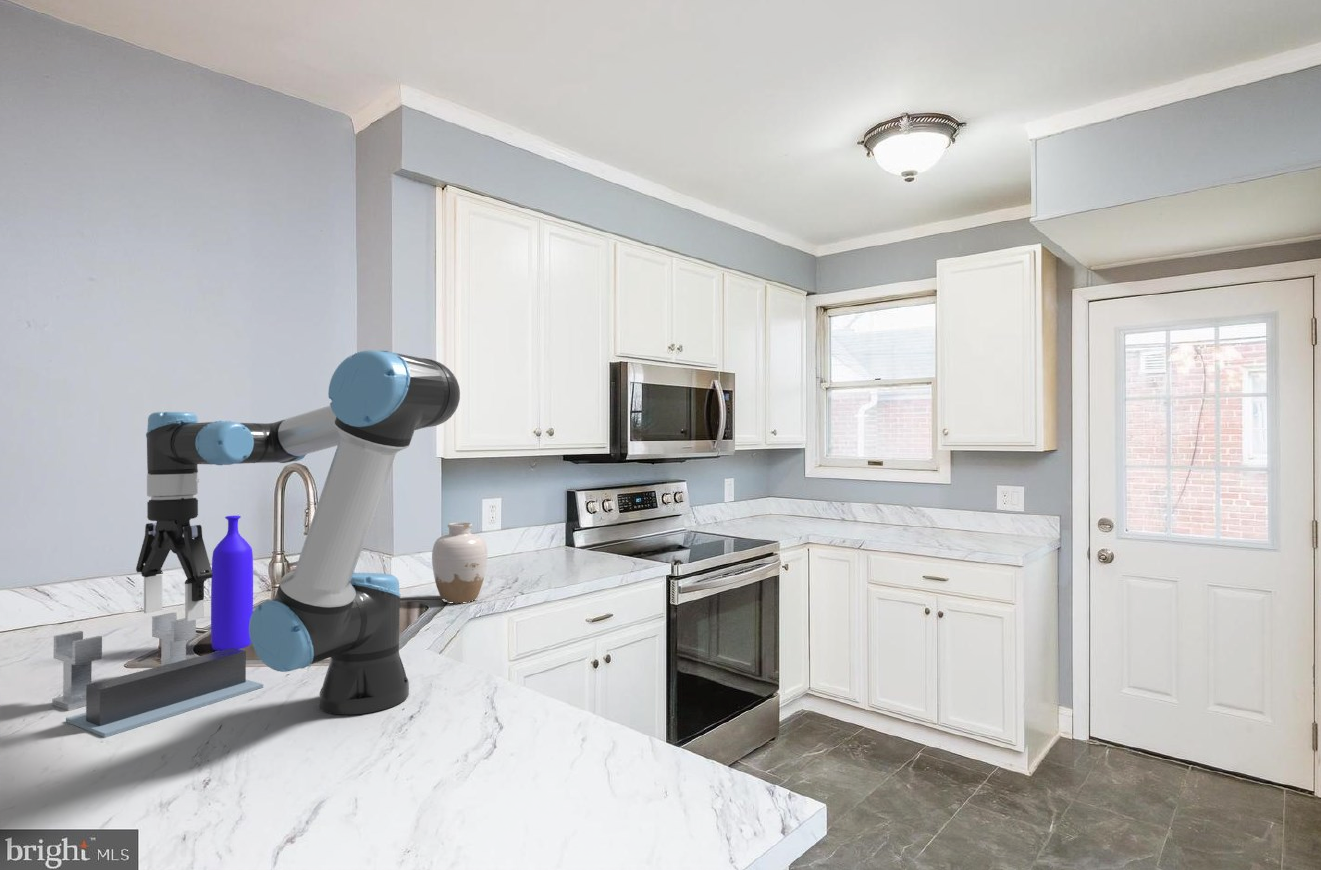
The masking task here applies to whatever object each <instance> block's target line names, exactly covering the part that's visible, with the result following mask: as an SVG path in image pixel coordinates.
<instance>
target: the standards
mask: <svg viewBox="0 0 1321 870" xmlns="http://www.w3.org/2000/svg"><path fill="white" fill-rule="evenodd" d="M151 618H152V620H151V636H152V638H156V639H160V640H161V646H160V647H161V649H160V650H161V651H160V653H161V658H160V659H161V663H160V664H161V665H160V666H163V665H167V664H171V663H175V662H179V661H183V660H187V640H190V639H195V638H196V637H197V636H196V635H197V632H196V631H197V619H196V620H191V621H185V617H184V618H179V619H177V612H174V611H173V612H169V613H164V614H160V615H154V616H152V617H151ZM53 659H55V660H58V661H61V662H63V663H62V664H63V669H62V670H63V671H62V672H63V674H62V675H63V676H62V684H63V686H62V689H63V691H62V696H58V697H54V698H52V701H51V702H52V703H51V704H52V706H54V707H58V708H60V709H63V710H65V711H72V710H76V709H79V708H83V707H86V685H89V684H92V668H93V667H92V665H93V663H92V662H94V661H98V660H99V661H100V660H102V659H103V636H101V635H96V636H92V637H88V638H87V637H86V638H84V631H83V630H78V631H73V632H67V633H63V634H57V635H53Z"/></svg>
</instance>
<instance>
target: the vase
mask: <svg viewBox="0 0 1321 870" xmlns="http://www.w3.org/2000/svg"><path fill="white" fill-rule="evenodd" d="M472 527H473V523H471V522H451V523H448V524H447V528H448V531H449V532H448V533H449V534H445V535H442V536H440V537H438V538H437V539H436V541H435V542H434V544H433V548H432V552H431V564H432V571H433V578H434V582H435V586H436V589H437V591H438V594H439V597H440V599H441V598H442V599H445V600H447V601H449V602H453V603H463V602H469V601H472V600H475V599H476V598H477V599H478V596H479V594H480V592H481V589H482V587H483V582H484V579H485V576H486V569H487V563H488V548H487V544H486V541H485V539H484V538H483V537H482V536H480V535H478V534H474V533H472V532H471V531H472ZM442 599H441V600H442ZM477 599H476V600H477ZM476 600H475V601H476ZM469 603H470V602H469ZM463 604H464V603H463Z"/></svg>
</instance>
